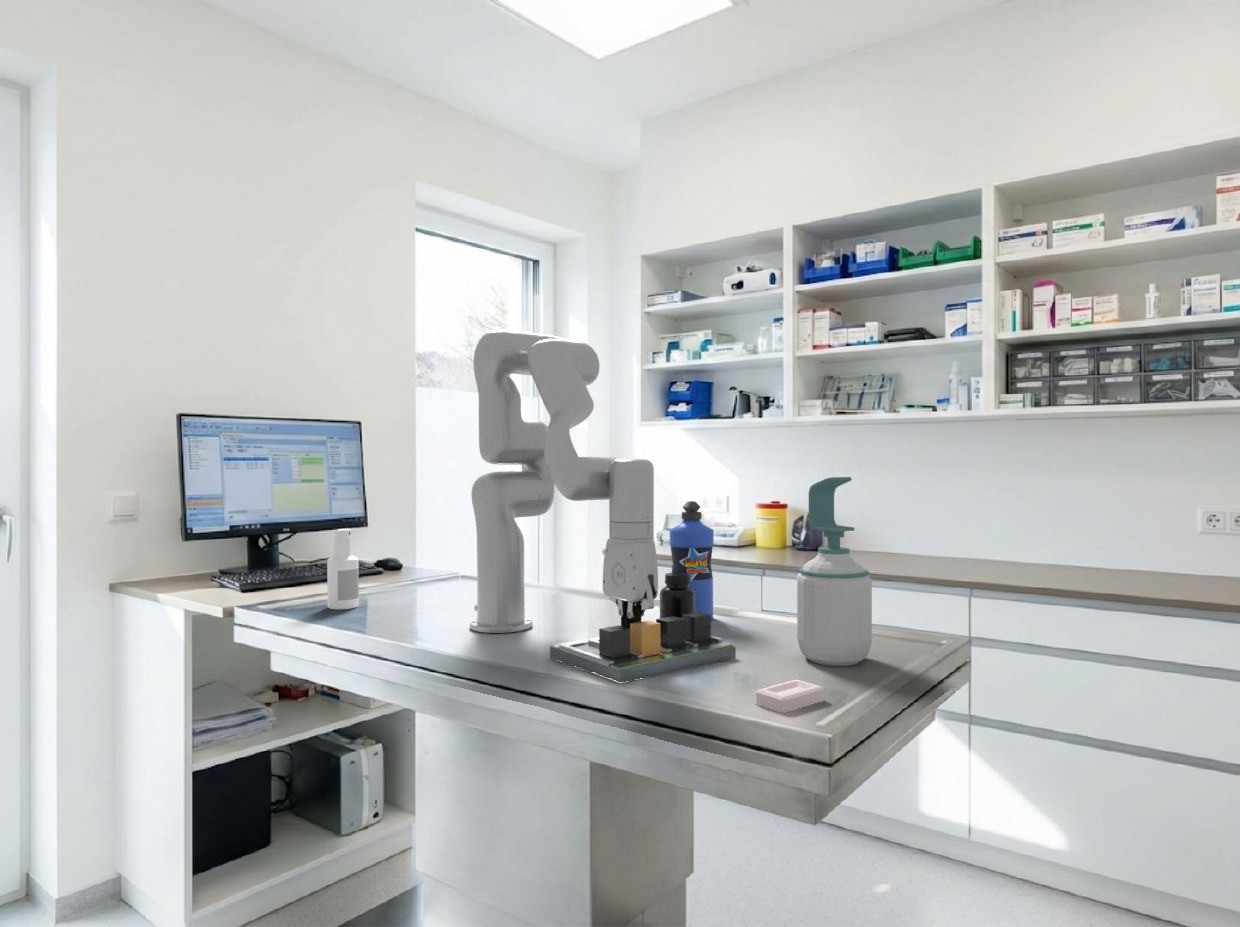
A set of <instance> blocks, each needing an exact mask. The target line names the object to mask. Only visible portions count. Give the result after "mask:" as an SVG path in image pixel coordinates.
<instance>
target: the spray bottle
mask: <svg viewBox="0 0 1240 927" xmlns="http://www.w3.org/2000/svg"><path fill="white" fill-rule="evenodd" d="M352 542H353V541H352V535H351V529H350V528H340V529H339V528H338V529H335V530H334V538H333V556H331V557H329V558H328V559H327V561H326V562H327V564H326V567H327V569H326V570H327V571H326V572H327V573H326V574H327V575H326V576H327V577H326V578H327V580H326V581H327V587H326V590H327V608H328V609H329V610H335V611H336V610H338V611H340V610H342V611H344V610H351V609H355V608H357V607H359V605H360V598H359V597H360V592H359V590H360V589H359V588H360V587H359V586H360V582H359V578H360V577H359V576H360V575H359V574H360V573H359V569H360V568H359V558H358V557H356V556H355V555H353V547H352V546H353V545H352V544H353V543H352Z"/></svg>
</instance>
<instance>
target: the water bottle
mask: <svg viewBox="0 0 1240 927" xmlns="http://www.w3.org/2000/svg"><path fill="white" fill-rule="evenodd" d="M682 508H683V510H684V511H681V520H682V521H681V523H679V524H677V525H675V526H673V527H672V528H670V529H669V545H670V553H671V559H672V561H671V562H672V565H671V573H688V574H690V584H689V587H690V588H692V589H693V590H694V592H695V612H702V613H706V614H711V622H712V621H713V620H714V576H713V571H712V570H713V569H712V558H713V556H712V555H713V548H714V540H715V538H714V532H715V531H714V529H713V528H711V527H709V526H708V525H705V524H704V523H703V522H702V521H701V520H702V511H699V510H700V509H701V505H699V503H698V502H696V501H695V500H692V501H691V500H690V501H686V503H685V504H684V505H683V506H682Z"/></svg>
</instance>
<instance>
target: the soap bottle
mask: <svg viewBox="0 0 1240 927" xmlns="http://www.w3.org/2000/svg"><path fill="white" fill-rule="evenodd" d="M852 480H853V479H852V477H850V476H836V477H833V476H832V477H827V478H824V479H821V480H820V481H818V482H815V483H813V484H812V485H811V486H810V487H809V489H808V524H809V527H810V529H812V530H816V531H823V533H822V534H823V535H822V537H823V538H827V543H826V544H827V546H819V547H818V548H817V550H818V552H817V555H816V556H815V557H814V558H813V559H810V560H808V561H807V562H806V563H805V564H804V565H803V566H802V567H800V568H798V570H799V573H798V574H797V577H796V615H797V616H796V637H797V642H798V647H799V649H800V652H801V654H802V655H803V656H804V657H805V658H806V659H808V660H809V661H810V662H813V663H815V664H819V665H824V666H829V667H830V666H831V667H834V666H835V667H843V666H844V667H847V666H855V665H858V664H859V663H860V662H861V661H863V660H864V659H866V657H868V655H869V653H870V650H871V646H872V640H873V636H872V635H873V634H872V633H873V632H872V631H873V629H872V626H873V624H872V623H873V620H872V618H873V616H872V615H873V612H872V611H873V610H872V606H873V605H872V604H873V603H872V602H873V600H872V597H873V595H872V594H873V588H872V587H873V586H872V585H873V581H872V579H871V577H870V576H869V575H870V571H869V570H868V569H867V568H864V566H863V565H862V564H861V563H860V562H858V561H856V560H855V559H854V558H852V556H850V548H848V547H843V546H841V538H844V537H845V532H852V531H853V532H854V531H855V527H854V526H853V527H852V526H846V525H839V524H837V523H836V521H835V492H836V489H837V488H838V487H840V486H842V485H845V484H847V483H849V482H852Z"/></svg>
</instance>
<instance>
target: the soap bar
mask: <svg viewBox="0 0 1240 927" xmlns="http://www.w3.org/2000/svg"><path fill="white" fill-rule="evenodd" d="M824 689H825V688H824V687H823V686H821V685H817V684H814V683H811V682H807V681H803V680H799V679H793V680H789V681H786V682H782V683H779V684H778V683H777V684H775V685H771V686H767V687H764V688H760V689H757V690H756V691H755V705H757V706H760V707H762V708H766V709H768V710H772V709H773V710H772V711H774V712H778V713H783V714H784V713H786V712H787V713H789V711H790V712H792V710H793V711H795V710H794V709H796V710H799V709H798V708H800V709H803V708H805V707H809V706H813V705H815V703H816V704H819V703H822V702H824V701H825V700H824V699H825V698H824V697H825V692H824V691H825V690H824ZM818 702H819V703H818ZM812 704H813V705H812Z"/></svg>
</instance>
